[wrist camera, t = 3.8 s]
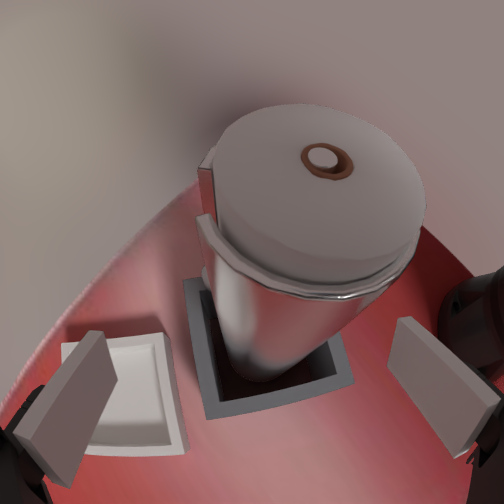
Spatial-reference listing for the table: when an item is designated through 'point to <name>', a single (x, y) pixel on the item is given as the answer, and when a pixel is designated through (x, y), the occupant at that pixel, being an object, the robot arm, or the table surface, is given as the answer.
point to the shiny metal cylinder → (302, 229)
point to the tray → (140, 401)
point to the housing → (323, 381)
